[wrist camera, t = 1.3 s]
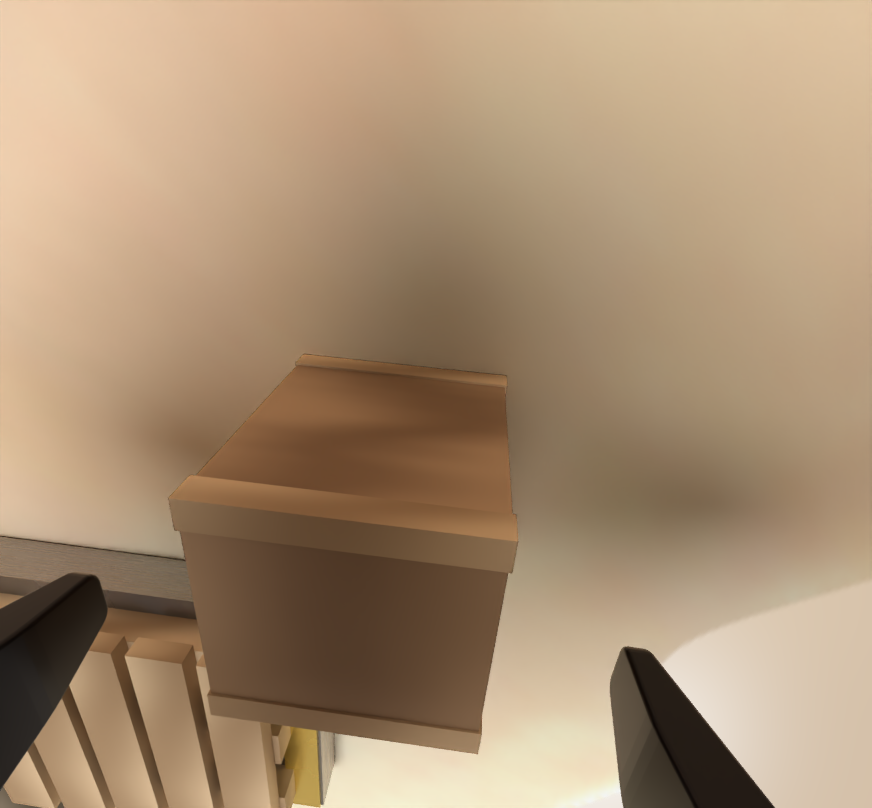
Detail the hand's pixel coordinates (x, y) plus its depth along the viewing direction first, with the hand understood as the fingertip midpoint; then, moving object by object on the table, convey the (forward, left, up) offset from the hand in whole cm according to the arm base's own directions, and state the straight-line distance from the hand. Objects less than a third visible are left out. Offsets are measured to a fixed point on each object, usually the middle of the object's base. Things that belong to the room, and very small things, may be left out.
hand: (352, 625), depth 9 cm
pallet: (+8, +10, -4) cm, 14 cm away
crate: (0, 0, -6) cm, 6 cm away
